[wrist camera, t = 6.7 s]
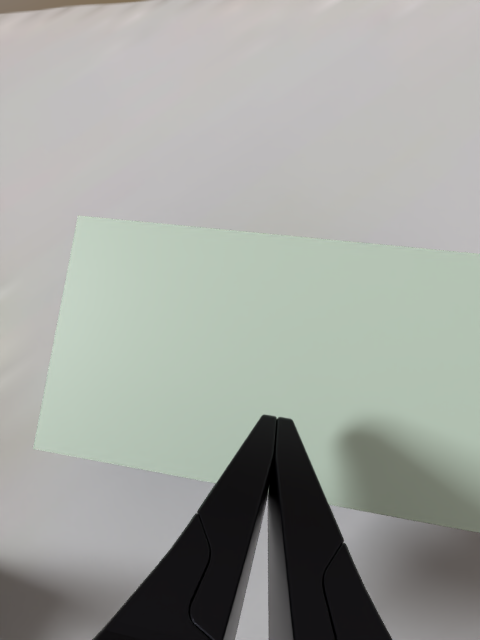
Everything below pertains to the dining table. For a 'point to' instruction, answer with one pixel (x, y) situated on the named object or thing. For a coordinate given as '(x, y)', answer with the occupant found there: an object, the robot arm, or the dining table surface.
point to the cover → (272, 360)
